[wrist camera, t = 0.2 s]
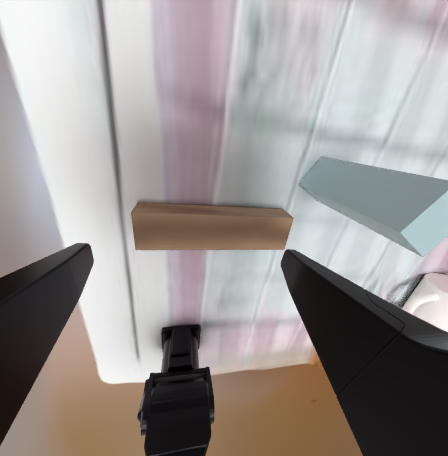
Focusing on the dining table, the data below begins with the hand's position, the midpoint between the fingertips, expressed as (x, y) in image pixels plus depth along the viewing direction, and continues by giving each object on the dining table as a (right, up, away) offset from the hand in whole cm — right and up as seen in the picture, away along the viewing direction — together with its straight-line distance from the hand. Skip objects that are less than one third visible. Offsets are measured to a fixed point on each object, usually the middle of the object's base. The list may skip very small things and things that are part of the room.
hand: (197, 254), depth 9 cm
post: (+13, +7, +15) cm, 21 cm away
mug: (+40, -12, +31) cm, 52 cm away
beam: (0, +2, +15) cm, 15 cm away
